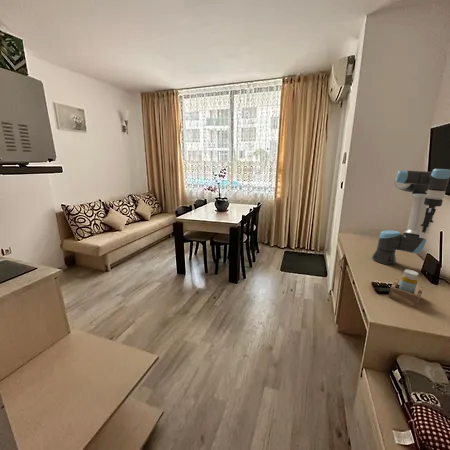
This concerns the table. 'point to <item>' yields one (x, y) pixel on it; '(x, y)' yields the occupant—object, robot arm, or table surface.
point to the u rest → (404, 295)
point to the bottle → (409, 281)
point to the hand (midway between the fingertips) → (423, 235)
